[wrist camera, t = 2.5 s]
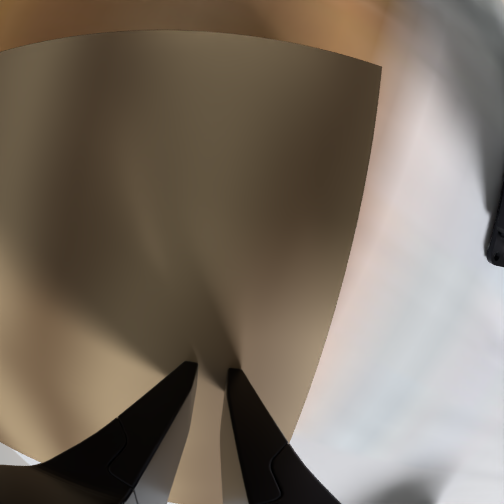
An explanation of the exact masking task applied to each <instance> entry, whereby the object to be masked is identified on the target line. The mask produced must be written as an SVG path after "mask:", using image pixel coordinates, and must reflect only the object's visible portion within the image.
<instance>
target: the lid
mask: <svg viewBox="0 0 504 504" xmlns="http://www.w3.org/2000/svg"><path fill="white" fill-rule="evenodd" d="M381 71H382V67H381V66H378V65H375V64H372V63H369V62H366V61H363V60H359V59H356V58H353V57H349V56H346V55H342V54H338V53H335V52H331V51H327V50H323V49H319V48H314V47H310V46H305V45H301V44H296V43H291V42H285V41H280V40H274V39H268V38H261V37H254V36H247V35H239V34H229V33H219V32H205V31H186V30H139V31H120V32H107V33H96V34H87V35H80V36H72V37H66V38H60V39H54V40H49V41H43V42H39V43H34V44H29V45H25V46H21V47H17V48H13V49H9V50H5V51H2V52H0V442H1V443H3V444H5V445H7V446H9V447H10V448H12V449H14V450H16V451H18V452H20V453H22V454H24V455H26V456H28V457H30V458H33V459H35V460H37V461H39V462H41V463H43V462H45V461H47V460H50V459H51V458H53V457H55V456H57V455H59V454H61V453H62V452H64V451H66V450H68V449H70V448H71V447H73V446H75V445H77V444H78V443H80V442H82V441H83V440H85V439H87V438H88V437H90V436H92V435H93V434H95V433H96V432H98V431H99V430H100V429H102V428H103V427H104V426H106V425H107V424H108V423H110V422H111V421H112V420H113V419H115V418H116V417H117V418H118V416H119V415H120V414H121V413H122V412H124V411H125V410H126V409H127V408H129V407H130V406H131V405H132V404H133V403H135V402H136V401H137V400H138V399H140V398H141V397H142V396H143V395H144V394H146V393H147V392H148V391H149V390H151V389H152V388H153V387H154V386H155V385H157V384H158V383H159V382H160V381H161V380H163V379H164V378H165V377H166V376H167V375H169V374H170V373H171V372H172V371H173V370H174V369H176V368H177V367H178V366H179V365H180V364H182V363H183V362H184V361H191V362H197V363H198V365H199V367H198V379H197V389H196V395H195V401H194V407H193V413H192V419H191V425H190V430H189V434H188V437H187V440H186V444H185V447H184V450H183V453H182V456H181V459H180V463H179V466H178V469H177V472H176V475H175V478H174V482H173V485H172V488H171V491H170V494H169V498H168V501H167V502H172V503H178V504H223V497H222V479H221V459H220V427H221V418H222V409H223V400H224V391H225V385H226V378H227V371H228V368H238V369H242V370H243V371H244V373H245V375H246V376H247V378H248V380H249V381H250V383H251V385H252V386H253V388H254V389H255V391H256V393H257V394H258V396H259V397H260V399H261V401H262V402H263V404H264V405H265V407H266V408H267V410H268V412H269V413H270V415H271V416H272V418H273V419H274V421H275V422H276V424H277V426H278V427H279V429H280V430H281V432H282V433H283V435H284V436H285V438H286V439H287V441H288V444H289V442H290V440H291V437H292V435H293V432H294V430H295V427H296V424H297V422H298V419H299V417H300V414H301V411H302V409H303V406H304V403H305V400H306V398H307V395H308V392H309V389H310V386H311V383H312V381H313V378H314V375H315V372H316V369H317V366H318V363H319V360H320V357H321V354H322V351H323V347H324V344H325V341H326V338H327V335H328V331H329V328H330V325H331V321H332V318H333V314H334V311H335V308H336V304H337V300H338V297H339V293H340V290H341V286H342V282H343V278H344V275H345V271H346V267H347V263H348V259H349V255H350V251H351V246H352V242H353V238H354V234H355V229H356V225H357V220H358V216H359V211H360V206H361V201H362V196H363V191H364V186H365V181H366V176H367V170H368V165H369V159H370V153H371V147H372V141H373V134H374V128H375V121H376V114H377V106H378V98H379V90H380V81H381Z"/></svg>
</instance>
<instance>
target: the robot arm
mask: <svg viewBox="0 0 504 504" xmlns="http://www.w3.org/2000/svg"><path fill="white" fill-rule="evenodd" d="M495 253H496V255H495ZM494 255H495V257H494ZM487 260H488V262H490V263H492V264H493V265H496V266H501V267H504V181H503V187H502V193H501V198H500V203H499V208H498V213H497V217H496V222H495V226H494V230H493V234H492V238H491V242H490V246H489V249H488V253H487ZM198 367H199V365H198V363H197V362H191V361H184V362H183V363H182V364H180V365H179V366H178V367H177V368H176V369H174V370H173V371H172V372H171V373H170V374H169V375H167V376H166V377H165V378H164V379H163V380H161V381H160V382H159V383H158V384H157V385H155V386H154V387H153V388H152V389H151V390H149V391H148V392H147V393H146V394H144V395H143V396H142V397H141V398H140V399H138V400H137V401H136V402H135V403H133V404H132V405H131V406H130V407H129V408H127V409H126V410H125V411H124V412H122V413H121V414H120V415H119V416H118V418H117V417H116V418H115V419H113V420H112V421H111V422H110V423H108V424H107V425H106V426H104V427H103V428H102V429H100V430H99V431H98V432H96V433H95V434H93V435H92V436H90V437H88V438H87V439H85V440H83V441H82V442H80V443H78V444H77V445H75V446H73V447H71V448H70V449H68V450H66V451H64V452H62V453H61V454H59V455H57V456H55V457H53V458H51V459H50V460H47V461H45V462H43V463H40V464H37V465H32V466H12V465H0V504H167V501H168V498H169V494H170V491H171V488H172V485H173V482H174V478H175V475H176V472H177V469H178V466H179V463H180V459H181V456H182V453H183V450H184V447H185V444H186V440H187V437H188V434H189V430H190V425H191V419H192V413H193V407H194V401H195V395H196V389H197V379H198ZM220 459H221V479H222V497H223V504H341V503H340V502H339V501H338V500H337V499H336V498H335V497H334V496H333V495H332V494H331V493H330V492H329V491H328V490H327V489H326V488H325V487H324V486H323V485H322V484H321V483H320V481H319V480H318V479H317V478H316V477H315V476H314V475H313V474H312V473H311V472H310V470H309V469H308V468H307V467H306V466H305V465H304V463H303V462H302V461H301V459H300V458H299V457H298V455H297V454H296V452H295V451H294V449H293V448H292V446H291V445H290V444H288V441H287V439H286V438H285V436H284V435H283V433H282V432H281V430H280V429H279V427H278V426H277V424H276V422H275V421H274V419H273V418H272V416H271V415H270V413H269V412H268V410H267V408H266V407H265V405H264V404H263V402H262V401H261V399H260V397H259V396H258V394H257V393H256V391H255V389H254V388H253V386H252V385H251V383H250V381H249V380H248V378H247V376H246V375H245V373H244V371H243V370H242V369H238V368H228V371H227V378H226V385H225V391H224V400H223V409H222V418H221V427H220Z"/></svg>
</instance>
